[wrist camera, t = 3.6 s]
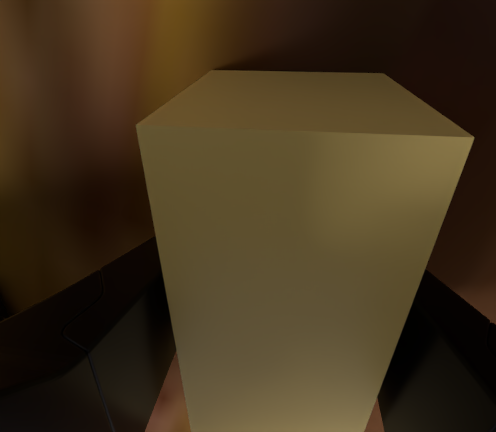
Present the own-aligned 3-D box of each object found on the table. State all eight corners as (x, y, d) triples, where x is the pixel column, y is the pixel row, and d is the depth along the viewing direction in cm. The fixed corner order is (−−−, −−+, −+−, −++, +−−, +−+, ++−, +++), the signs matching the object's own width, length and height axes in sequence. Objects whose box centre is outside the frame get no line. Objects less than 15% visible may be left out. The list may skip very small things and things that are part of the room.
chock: (223, 304, 12) (192, 437, 8) (211, 70, 8) (135, 125, 4) (334, 314, 12) (353, 458, 8) (383, 73, 8) (474, 137, 4)
